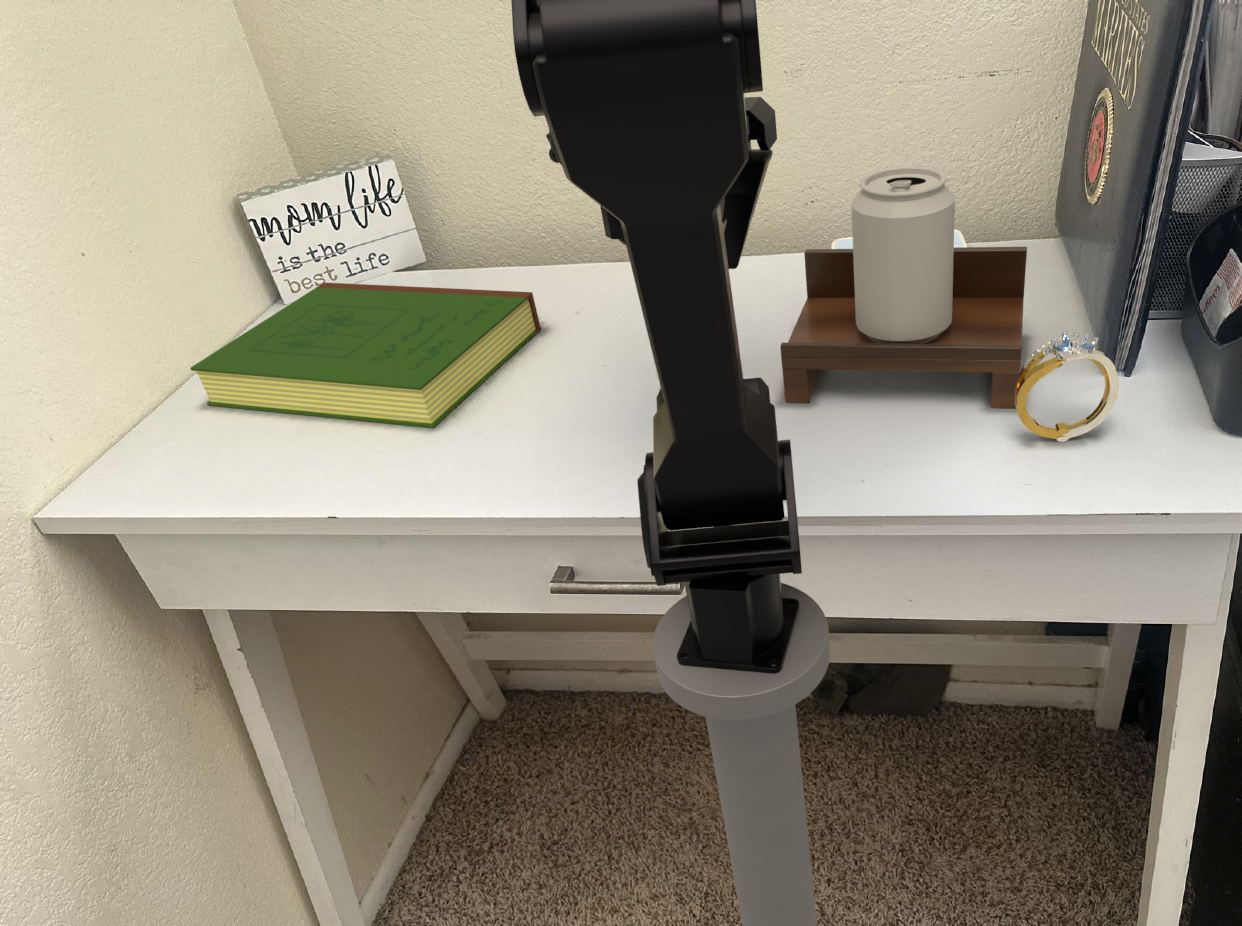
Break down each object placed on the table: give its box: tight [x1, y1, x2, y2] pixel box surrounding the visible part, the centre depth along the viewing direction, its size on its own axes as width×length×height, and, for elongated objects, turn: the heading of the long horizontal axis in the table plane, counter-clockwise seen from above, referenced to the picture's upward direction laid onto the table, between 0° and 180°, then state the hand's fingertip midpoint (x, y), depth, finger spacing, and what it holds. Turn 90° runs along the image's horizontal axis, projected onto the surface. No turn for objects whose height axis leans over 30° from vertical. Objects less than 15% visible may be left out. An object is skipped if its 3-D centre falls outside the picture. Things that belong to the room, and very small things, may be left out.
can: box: [851, 165, 956, 344], centre depth 77 cm, size 8×8×12 cm
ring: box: [1014, 329, 1120, 443], centre depth 71 cm, size 7×3×8 cm, turn 86°
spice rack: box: [779, 246, 1028, 409], centre depth 81 cm, size 12×18×8 cm, turn 76°
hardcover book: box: [189, 282, 542, 429], centre depth 94 cm, size 25×19×4 cm
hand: (713, 295), depth 67 cm, fingers open, 9 cm apart
